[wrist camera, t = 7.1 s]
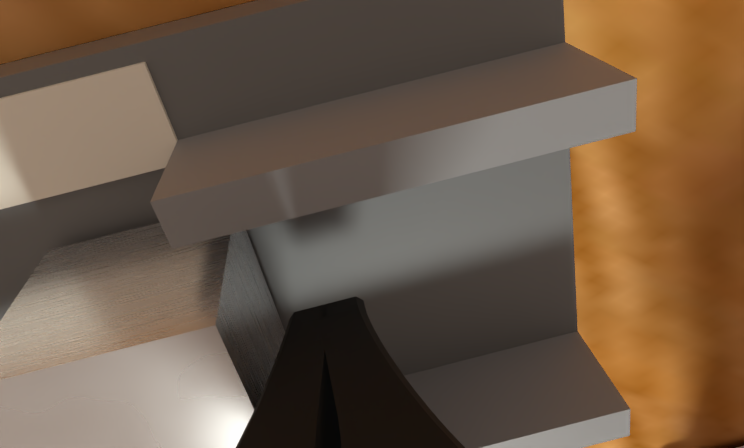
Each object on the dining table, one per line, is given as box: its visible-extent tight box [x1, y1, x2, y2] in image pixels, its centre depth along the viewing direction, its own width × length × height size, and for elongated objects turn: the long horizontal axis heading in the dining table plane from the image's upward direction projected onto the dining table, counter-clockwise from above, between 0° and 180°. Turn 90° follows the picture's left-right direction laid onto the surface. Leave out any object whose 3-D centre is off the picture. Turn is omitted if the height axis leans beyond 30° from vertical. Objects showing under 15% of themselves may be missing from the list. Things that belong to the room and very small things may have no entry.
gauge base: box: [0, 0, 637, 448], centre depth 11 cm, size 20×11×5 cm, turn 102°
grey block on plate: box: [0, 222, 285, 448], centre depth 10 cm, size 6×5×4 cm
